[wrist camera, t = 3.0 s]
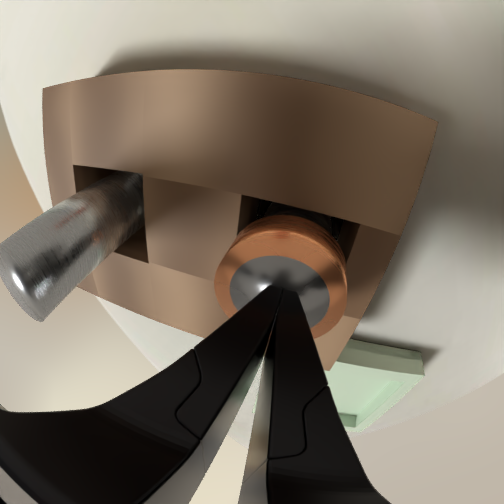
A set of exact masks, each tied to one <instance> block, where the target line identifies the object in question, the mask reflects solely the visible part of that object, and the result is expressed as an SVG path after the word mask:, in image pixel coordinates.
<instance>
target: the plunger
mask: <svg viewBox="0 0 504 504" xmlns="http://www.w3.org/2000/svg"><path fill="white" fill-rule="evenodd" d="M268 285H274V286H278V287H281V288H282V289H290V290H293V291H296V292H297V293H298V295H299V298H300V301H301V303H302V306H303V309H304V312H305V315H306V318H307V321H308V324H309V326H310V329H311V332H312V335H313V338H314V339H315V338H318V337H320V336H322V335H324V334H326V333H327V332H329V331H330V330H331V329H332V328H334V327H335V326H336V324H337V323H338V322H339V321H340V319H341V318H342V316H343V314H344V311H345V309H346V304H347V277H346V262H345V257H344V254H343V251H342V249H341V247H340V245H339V244H338V243H337V241H336V240H335V238H334V237H333V236H332V220H331V216H329V215H326V214H322V213H318V212H314V211H310V210H306V209H302V208H298V207H294V206H290V205H286V204H281V203H277V202H272V203H271V205H270V206H269V208H268V209H267V211H266V213H265V215H264V217H263V218H261V219H258V220H256V221H254V222H252V223H250V224H249V225H248V226H246V227H245V228H244V229H243V230H242V231H241V232H240V233H239V234H238V235H237V237H236V238H235V240H234V241H233V243H232V244H231V246H230V248H229V249H228V251H227V252H226V254H225V256H224V257H223V259H222V261H221V262H220V264H219V266H218V268H217V270H216V273H215V279H214V289H215V294H216V297H217V300H218V302H219V305H220V307H221V308H222V310H223V311H224V313H225V314H226V315H227V316H228V317H229V318H230V317H232V316H233V315H234V314H235V313H236V312H238V311H239V310H240V309H241V308H242V307H244V306H245V305H246V304H247V303H248V302H249V301H251V300H252V299H253V298H254V297H255V296H257V295H258V294H259V293H260V292H261V291H262V290H264V289H265V288H266V287H267V286H268ZM282 292H283V291H282ZM281 296H282V295H281ZM279 303H280V302H279ZM276 314H277V313H276ZM274 321H275V320H274ZM272 328H273V327H272ZM270 335H271V334H270Z"/></svg>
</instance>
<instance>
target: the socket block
mask: <svg viewBox="0 0 504 504" xmlns="http://www.w3.org/2000/svg"><path fill="white" fill-rule="evenodd" d="M42 109H43V135H44V149H45V159H46V167H47V175H48V182H49V188H50V194H51V200H52V205H53V207H54V206H56V205H57V204H59V203H61V202H62V201H64V200H65V199H67V198H69V197H71V196H72V195H74V194H76V193H77V192H79V191H81V190H83V189H85V188H86V187H88V186H90V185H92V184H94V183H96V182H97V181H99V180H101V179H103V178H105V177H107V176H109V175H111V174H113V173H115V172H117V171H119V170H121V171H128V172H135V173H142V174H143V195H144V214H145V225H144V226H142V227H141V228H140V229H139V230H138V231H136V232H135V233H134V234H133V235H132V236H131V237H129V238H128V239H127V240H126V241H125V242H124V243H123V244H121V245H120V246H119V247H118V248H117V249H116V250H115V251H114V252H112V253H111V254H110V255H109V256H108V257H107V258H106V259H105V260H104V261H103V262H101V263H100V264H99V265H98V266H97V267H96V268H95V269H94V270H93V271H92V272H91V273H90V274H89V275H88V276H87V277H86V278H85V279H84V280H82V281H81V282H80V283H79V284H78V285H77V287H79V288H81V289H83V290H85V291H87V292H90V293H92V294H94V295H96V296H98V297H100V298H103V299H105V300H107V301H109V302H112V303H114V304H116V305H119V306H121V307H123V308H126V309H128V310H130V311H133V312H135V313H138V314H140V315H143V316H145V317H148V318H150V319H153V320H155V321H158V322H161V323H163V324H166V325H169V326H171V327H174V328H177V329H180V330H182V331H185V332H188V333H191V334H194V335H197V336H200V337H203V338H206V337H207V336H208V335H210V334H211V333H212V332H213V331H215V330H216V329H217V328H218V327H219V326H221V325H222V324H223V323H224V322H226V321H227V320H228V319H229V317H228V316H227V315H226V314H225V313H224V311H223V310H222V308H221V307H220V305H219V302H218V300H217V297H216V294H215V289H214V279H215V273H216V270H217V268H218V266H219V264H220V262H221V261H222V259H223V257H224V256H225V254H226V252H227V251H228V249H229V248H230V246H231V244H232V243H233V241H234V240H235V238H236V237H237V235H238V234H239V233H240V232H241V231H242V230H243V229H244V228H245V227H246V226H248V225H249V224H250V223H252V222H254V221H256V218H257V212H258V205H259V199H264V200H269V201H273V202H277V203H281V204H286V205H290V206H294V207H298V208H302V209H306V210H310V211H314V212H318V213H322V214H326V215H329V216H333V217H337V218H341V219H344V221H343V224H342V227H341V230H340V233H339V236H338V239H337V243H338V244H339V245H340V247H341V249H342V251H343V254H344V257H345V262H346V277H347V304H346V309H345V311H344V314H343V316H342V318H341V319H340V321H339V322H338V323H337V324H336V326H335V327H334V328H332V329H331V330H330V331H329V332H327V333H326V334H324V335H322V336H320V337H318V338H315V339H314V341H315V344H316V347H317V350H318V353H319V356H320V359H321V362H322V365H323V368H324V370H326V371H330V370H331V368H332V366H333V365H334V363H335V362H336V360H337V359H338V357H339V355H340V354H341V352H342V351H343V349H344V347H345V346H346V344H347V342H348V341H349V339H350V337H351V335H352V334H353V332H354V330H355V329H356V327H357V325H358V323H359V321H360V320H361V318H362V316H363V314H364V312H365V310H366V309H367V307H368V305H369V303H370V301H371V299H372V297H373V295H374V293H375V291H376V289H377V287H378V285H379V283H380V281H381V279H382V277H383V275H384V273H385V271H386V269H387V267H388V264H389V262H390V260H391V258H392V256H393V253H394V251H395V249H396V247H397V244H398V242H399V239H400V237H401V235H402V232H403V230H404V227H405V225H406V222H407V220H408V217H409V215H410V212H411V209H412V207H413V204H414V201H415V198H416V196H417V193H418V190H419V187H420V184H421V181H422V178H423V175H424V172H425V168H426V165H427V162H428V158H429V155H430V152H431V148H432V144H433V141H434V137H435V133H436V129H437V125H438V122H437V121H435V120H433V119H431V118H428V117H426V116H423V115H421V114H419V113H416V112H414V111H411V110H409V109H406V108H403V107H401V106H398V105H395V104H392V103H389V102H386V101H383V100H380V99H377V98H374V97H371V96H368V95H364V94H361V93H357V92H354V91H350V90H346V89H342V88H338V87H334V86H330V85H326V84H321V83H317V82H312V81H307V80H301V79H296V78H290V77H284V76H277V75H270V74H262V73H252V72H242V71H229V70H207V69H172V70H151V71H138V72H127V73H119V74H111V75H104V76H98V77H92V78H86V79H81V80H76V81H71V82H67V83H62V84H58V85H54V86H50V87H46V88H43V97H42ZM268 342H269V341H268ZM266 349H267V348H266ZM265 352H266V351H265ZM264 356H265V354H264Z"/></svg>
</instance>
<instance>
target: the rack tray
mask: <svg viewBox="0 0 504 504" xmlns="http://www.w3.org/2000/svg"><path fill="white" fill-rule="evenodd" d="M324 371H325V374H326V377H327V381H328V386H329V387H330V390H331V393H332V396H333V399H334V402H335V405H336V407H337V410H338V413H339V416H340V418H341V421H342V423H343V425H344V428H345V430H346V431H351V432H362V431H363V430H364V429H366V428H367V427H368V426H369V425H371V424H372V423H373V422H374V421H376V420H377V419H378V418H379V417H381V416H382V415H383V414H384V413H385V412H386V411H388V410H389V409H390V408H391V407H392V406H393V405H395V404H396V403H397V402H398V401H399V400H400V399H401V398H402V397H403V396H404V395H406V394H407V393H408V392H409V391H410V390H411V389H412V388H413V387H414V386H415V385H416V384H417V383H418V382H419V381H420V380H421V379H422V378H423V377H424V376H425V374H424V368H423V362H422V356H421V352H417V351H411V350H406V349H400V348H394V347H389V346H384V345H378V344H373V343H368V342H363V341H358V340H354V339H349V341H348V342H347V344H346V346H345V347H344V349H343V351H342V352H341V354H340V355H339V357H338V359H337V360H336V362H335V363H334V365H333V366H332V368H331V370H330V371H326V370H324ZM257 398H258V394H257ZM257 398H256V401H255V404H254V408H253V411H252V413H255V410H256V404H257Z"/></svg>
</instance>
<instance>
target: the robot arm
mask: <svg viewBox="0 0 504 504" xmlns="http://www.w3.org/2000/svg"><path fill="white" fill-rule="evenodd" d="M282 291H283V292H282ZM281 295H282V296H281ZM279 302H280V303H279ZM276 313H277V314H276ZM274 320H275V321H274ZM272 327H273V328H272ZM270 334H271V335H270ZM268 341H269V342H268ZM266 348H267V349H266ZM265 351H266V352H265ZM264 354H265V356H264ZM263 357H264V361H263V367H262V373H261V379H260V386H259V392H258V398H257V404H256V410H255V416H254V421H253V427H252V433H251V438H250V444H249V449H248V455H247V460H246V465H245V471H244V476H243V482H242V486H241V491H240V496H239V501H238V504H391V503H390V502H389V501H387V500H386V499H385V498H384V497H383V496H382V495H381V494H380V493H379V492H378V491H377V490H376V489H375V488H374V487H373V486H372V484H371V483H370V481H369V479H368V478H367V476H366V474H365V472H364V469H363V467H362V465H361V463H360V461H359V458H358V456H357V454H356V452H355V450H354V448H353V446H352V443H351V441H350V439H349V437H348V435H347V432H346V430H345V428H344V425H343V423H342V421H341V418H340V416H339V413H338V410H337V407H336V405H335V402H334V399H333V396H332V393H331V390H330V387H329V386H328V381H327V377H326V374H325V371H324V368H323V365H322V362H321V359H320V356H319V353H318V350H317V347H316V344H315V341H314V338H313V335H312V332H311V329H310V326H309V324H308V321H307V318H306V315H305V312H304V309H303V306H302V303H301V301H300V298H299V295H298V293H297V292H296V291H293V290H290V289H282V288H281V287H278V286H274V285H268V286H267V287H266V288H265V289H264V290H262V291H261V292H260V293H259V294H258V295H257V296H255V297H254V298H253V299H252V300H251V301H249V302H248V303H247V304H246V305H245V306H244V307H242V308H241V309H240V310H239V311H238V312H236V313H235V314H234V315H233V316H232V317H230V318H229V319H228V320H227V321H226V322H224V323H223V324H222V325H221V326H219V327H218V328H217V329H216V330H215V331H213V332H212V333H211V334H210V335H208V336H207V337H206V338H205V339H204V340H202V341H201V342H200V343H199V344H197V345H196V346H195V347H194V349H191V350H190V351H188V352H187V353H186V354H185V355H183V356H182V357H181V358H179V359H178V360H177V361H175V362H174V363H173V364H171V365H170V366H168V367H167V368H166V369H164V370H162V371H161V372H159V373H158V374H156V375H154V376H153V377H151V378H150V379H148V380H146V381H144V382H142V383H141V384H139V385H137V386H135V387H134V388H132V389H130V390H128V391H126V392H125V393H123V394H121V395H119V396H117V397H115V398H114V399H112V400H110V401H108V402H106V403H104V404H101V405H98V406H95V407H92V408H87V409H80V410H69V411H54V412H10V411H7V410H6V409H5V408H4V407H3V406H2V405H1V404H0V504H189V502H190V500H191V498H192V497H193V495H194V493H195V492H196V490H197V488H198V486H199V485H200V483H201V481H202V479H203V477H204V476H205V473H206V472H207V470H208V468H209V467H210V464H211V463H212V461H213V459H214V457H215V456H216V454H217V452H218V450H219V448H220V446H221V444H222V442H223V440H224V438H225V436H226V435H227V433H228V431H229V429H230V427H231V425H232V423H233V421H234V419H235V417H236V415H237V413H238V411H239V409H240V407H241V405H242V403H243V400H244V398H245V396H246V394H247V392H248V390H249V388H250V386H251V384H252V382H253V380H254V377H255V375H256V373H257V371H258V369H259V367H260V364H261V362H262V360H263Z"/></svg>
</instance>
